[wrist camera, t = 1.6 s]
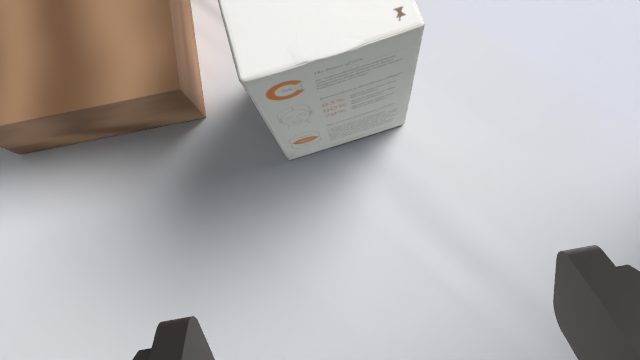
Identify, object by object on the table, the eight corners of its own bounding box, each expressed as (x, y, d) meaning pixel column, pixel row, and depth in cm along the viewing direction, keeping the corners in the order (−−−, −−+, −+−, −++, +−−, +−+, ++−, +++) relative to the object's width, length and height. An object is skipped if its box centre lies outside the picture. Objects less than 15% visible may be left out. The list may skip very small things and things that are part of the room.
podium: (183, -51, 38) (156, -101, 34) (205, 117, 36) (180, 89, 31) (11, -14, 39) (-40, -58, 34) (19, 154, 36) (-35, 132, 31)
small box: (375, 39, 36) (381, -102, 23) (406, 125, 34) (429, 25, 22) (260, 76, 36) (203, -45, 23) (286, 163, 34) (239, 85, 22)
